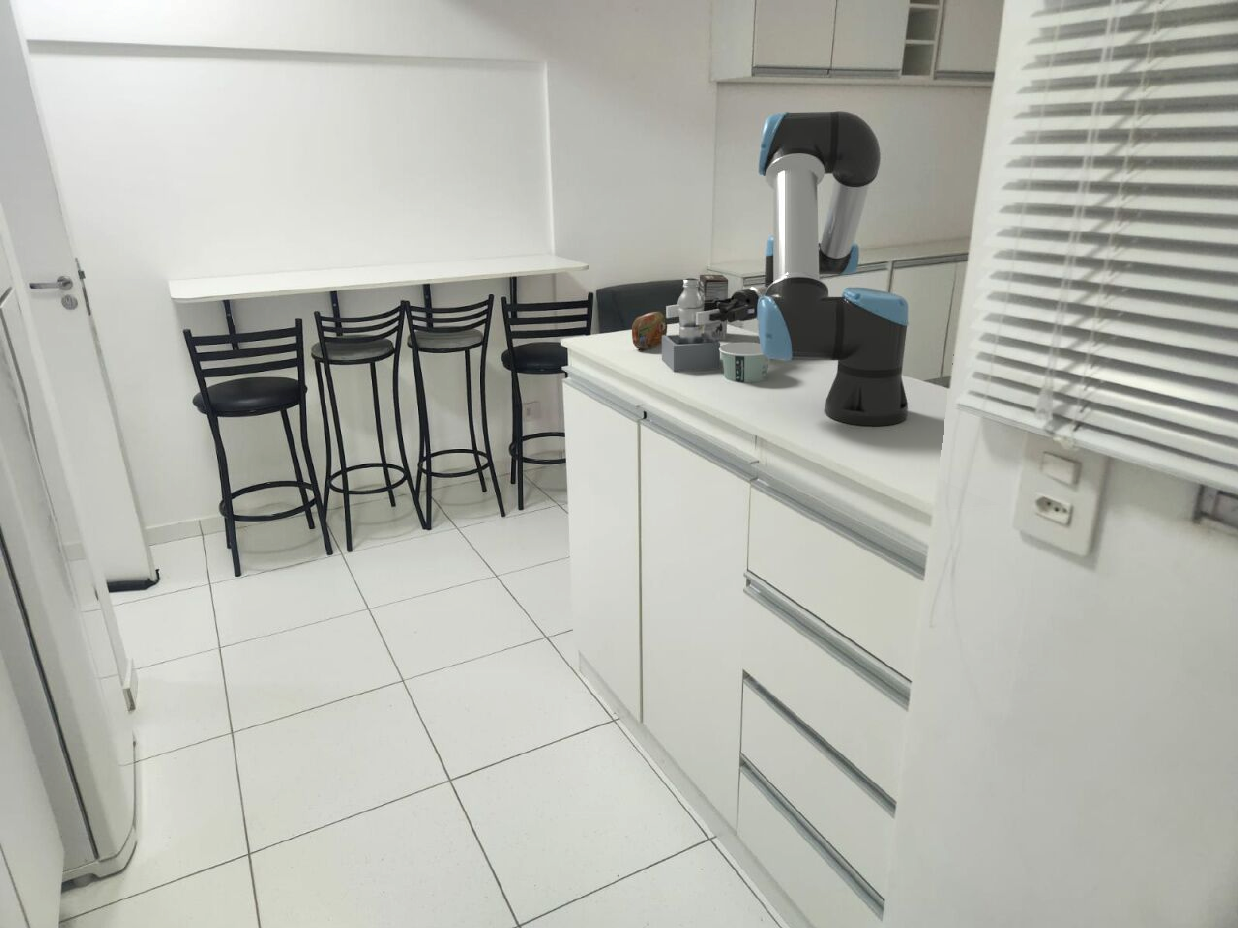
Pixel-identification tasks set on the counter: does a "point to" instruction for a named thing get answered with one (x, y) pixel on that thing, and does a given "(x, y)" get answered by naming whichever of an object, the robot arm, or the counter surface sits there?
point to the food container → (744, 362)
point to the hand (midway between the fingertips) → (681, 315)
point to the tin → (649, 330)
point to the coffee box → (713, 289)
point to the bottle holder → (691, 354)
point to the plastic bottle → (690, 312)
